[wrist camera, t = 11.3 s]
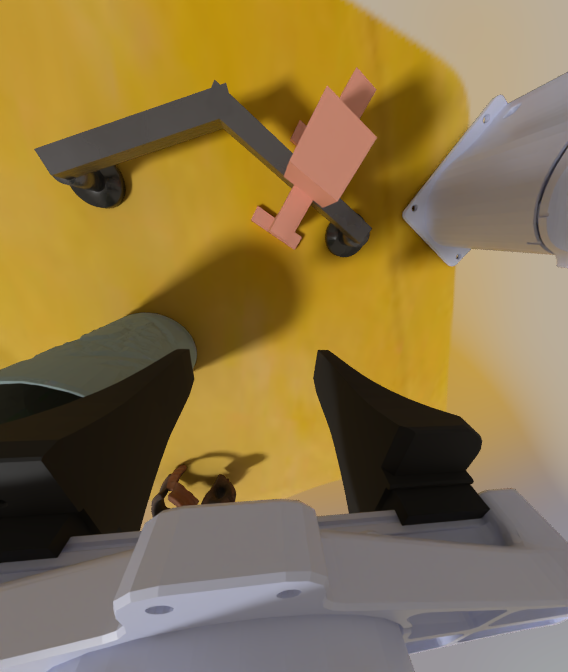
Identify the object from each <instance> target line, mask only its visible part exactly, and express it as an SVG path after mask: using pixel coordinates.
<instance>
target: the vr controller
mask: <svg viewBox="0 0 568 672" xmlns="http://www.w3.org/2000/svg"><path fill="white" fill-rule="evenodd" d="M185 470H186V466H185V465H181V466H179V467H178V468H177V469H175V470H174V472H173V473H172V474H169V475H168V477H167V478H166V479H165V481H164V482H163V484H162V486H161V489H160V492H159V493H158V494H157V495H156V496H155V497H154V498H153V500H152V508H151V510H152V511H151V512H152V515H153V517H155V516H156V515H158V514H159V513H160V512H162V511H163V510H167V509H170V508H167V507H166V506H165V503H164V498H165V496H166V495H167V493H168V491H172V492H171V493H170V494H169V495H168V500H169V501H170V502H172V503H173V504H174V505H176V506H177V507H181V506H188V505H197V504H198V502H199V500H198V499H197V498H195V497H194V496H193V494H192V493H191V492H190V491H187V490H186V489H185V487H184V486H183V485H181V484H180V483H178V481H179V479H180V477H181V475H182V474H183V473H184V472H185ZM235 498H236V491H235V488H234V486H233V485H232V483H231V482H229V479H226V477H225V476H223V475H221V474H220V475H218V477H217V480H216V482H215V483H214V485H213V487H212V488H211V489H210V491H208V493H207V494H206V495H205V497H204V499H203V501H202V503H201V505H202V504H216V503H230V502H235Z"/></svg>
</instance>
